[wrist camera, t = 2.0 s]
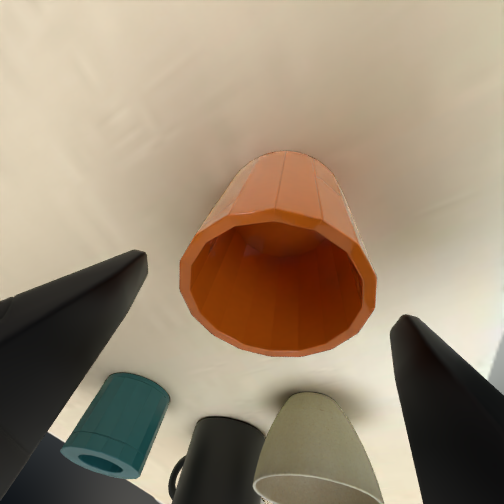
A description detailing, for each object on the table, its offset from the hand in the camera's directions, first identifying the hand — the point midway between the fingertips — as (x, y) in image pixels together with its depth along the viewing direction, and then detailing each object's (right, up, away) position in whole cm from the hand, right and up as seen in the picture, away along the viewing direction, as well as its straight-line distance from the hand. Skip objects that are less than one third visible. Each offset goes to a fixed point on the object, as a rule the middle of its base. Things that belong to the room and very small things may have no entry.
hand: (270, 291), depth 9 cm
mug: (-5, -23, +25) cm, 34 cm away
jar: (-14, -15, +21) cm, 30 cm away
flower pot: (+5, -14, +17) cm, 23 cm away
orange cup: (+1, +4, +5) cm, 7 cm away
